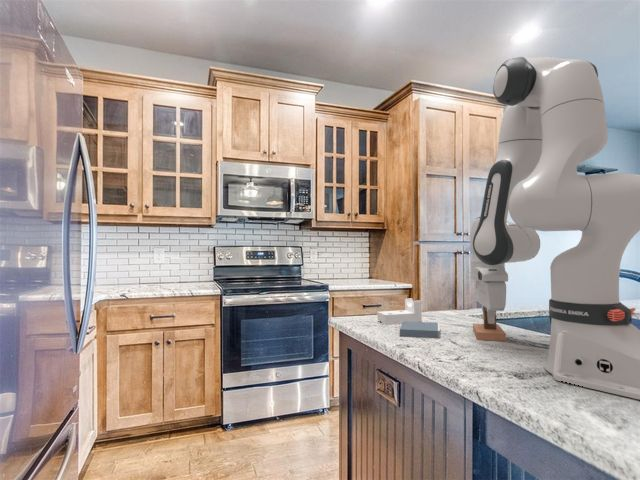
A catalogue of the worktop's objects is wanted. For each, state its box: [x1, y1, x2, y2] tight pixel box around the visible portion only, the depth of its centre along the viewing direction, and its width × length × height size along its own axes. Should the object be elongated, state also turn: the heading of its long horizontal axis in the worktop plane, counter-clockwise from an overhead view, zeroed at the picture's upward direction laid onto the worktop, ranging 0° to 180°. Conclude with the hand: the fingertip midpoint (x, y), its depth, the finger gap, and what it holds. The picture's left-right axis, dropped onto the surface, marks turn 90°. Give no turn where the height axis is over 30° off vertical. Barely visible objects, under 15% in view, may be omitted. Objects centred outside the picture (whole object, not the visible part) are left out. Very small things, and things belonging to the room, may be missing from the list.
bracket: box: [376, 298, 423, 326], centre depth 130 cm, size 13×7×8 cm, turn 103°
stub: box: [472, 310, 507, 342], centre depth 107 cm, size 7×12×7 cm, turn 163°
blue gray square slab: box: [399, 321, 441, 339], centre depth 112 cm, size 11×12×2 cm
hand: (489, 321), depth 107 cm, fingers open, 3 cm apart
